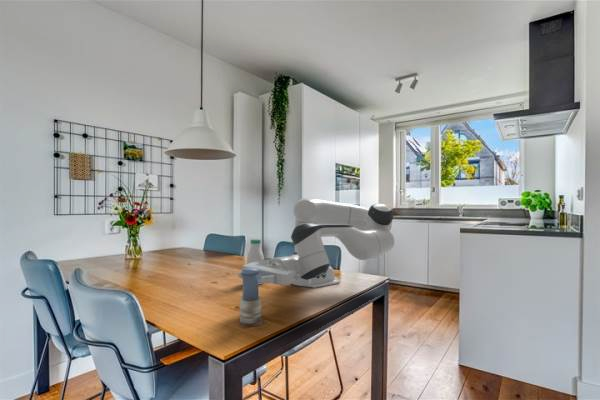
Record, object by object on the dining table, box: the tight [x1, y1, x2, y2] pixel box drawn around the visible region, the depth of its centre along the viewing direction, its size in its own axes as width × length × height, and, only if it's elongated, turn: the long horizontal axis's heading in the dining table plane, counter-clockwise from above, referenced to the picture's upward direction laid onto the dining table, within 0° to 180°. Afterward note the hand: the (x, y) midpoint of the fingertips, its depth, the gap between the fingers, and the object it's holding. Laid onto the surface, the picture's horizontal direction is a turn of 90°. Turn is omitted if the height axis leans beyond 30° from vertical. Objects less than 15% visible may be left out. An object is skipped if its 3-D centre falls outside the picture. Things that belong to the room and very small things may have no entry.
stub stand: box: [238, 295, 264, 329], centre depth 93 cm, size 7×7×7 cm
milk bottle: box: [246, 238, 265, 286], centre depth 140 cm, size 8×8×20 cm
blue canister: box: [241, 267, 259, 301], centre depth 93 cm, size 5×5×9 cm
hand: (249, 277), depth 93 cm, fingers open, 8 cm apart
